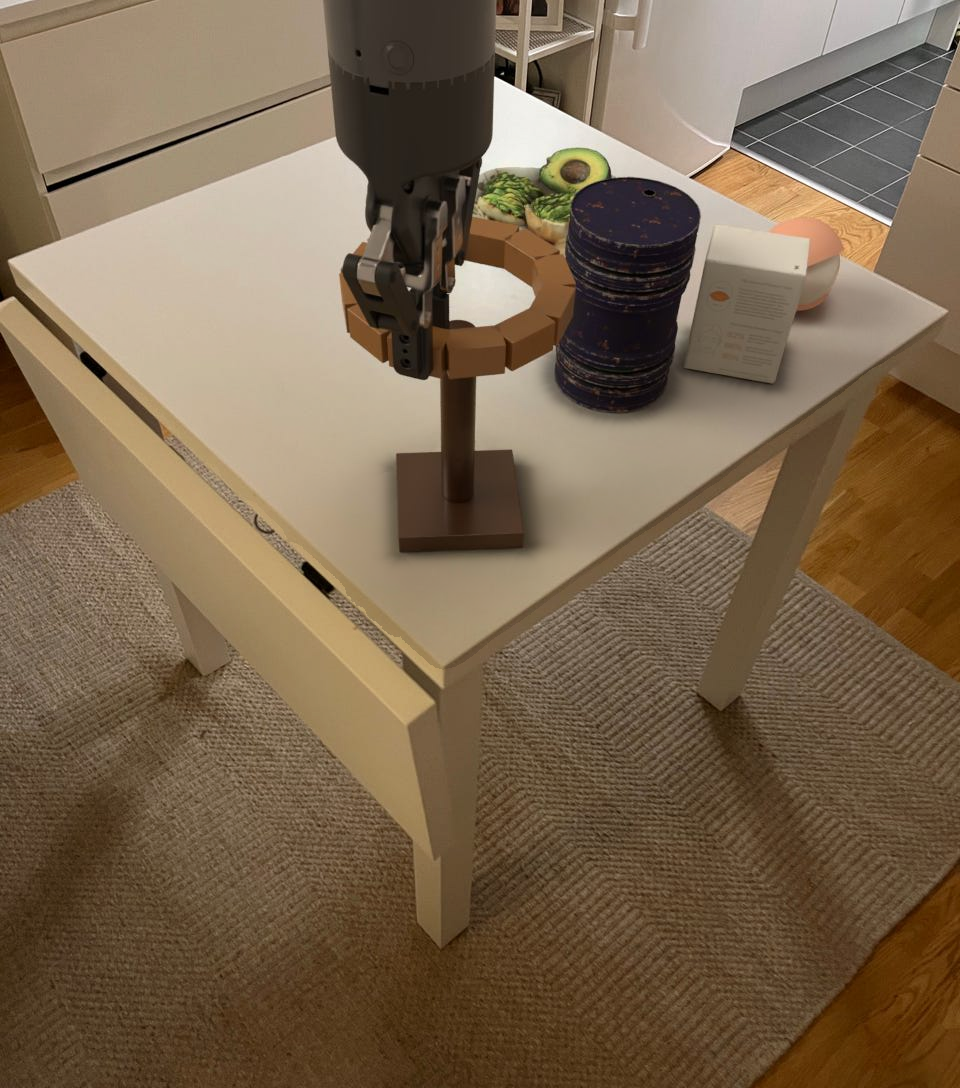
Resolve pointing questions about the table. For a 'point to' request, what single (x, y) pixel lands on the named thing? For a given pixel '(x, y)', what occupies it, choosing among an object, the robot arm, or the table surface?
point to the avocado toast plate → (540, 192)
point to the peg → (457, 483)
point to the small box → (746, 302)
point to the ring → (507, 339)
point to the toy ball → (815, 257)
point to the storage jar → (625, 291)
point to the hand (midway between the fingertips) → (421, 360)
